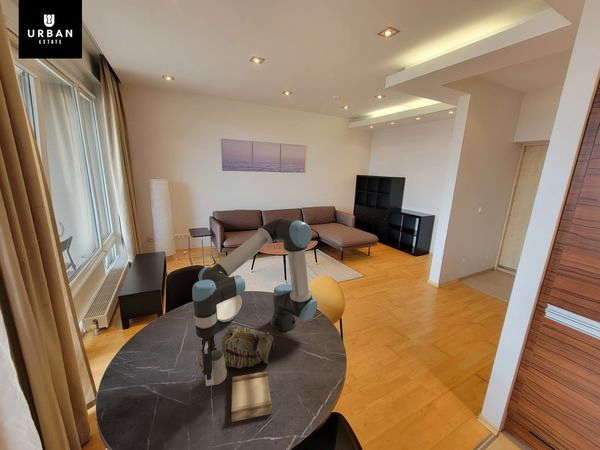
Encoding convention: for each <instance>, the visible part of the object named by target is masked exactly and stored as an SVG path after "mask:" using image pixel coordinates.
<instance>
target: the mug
mask: <svg viewBox="0 0 600 450" xmlns="http://www.w3.org/2000/svg"><path fill="white" fill-rule="evenodd" d="M201 361H203V354H202V348H199V349H198V350H197V357H196V359H195V368H196V369H195V370H196V371H197V372H198V374H199V375H202V374H203V373H202V371H203V370H204V369H203V363H202V362H201ZM212 368H213V376H214V385H213V386H216V385H219V384H222V383H223V382H224V381H225V379H226V378H227V374H228V370H227V366H225V358H224V353H223V351H222V349H221V350H220V349H217V350H213V351H212Z"/></svg>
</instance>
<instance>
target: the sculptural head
mask: <svg viewBox="0 0 600 450" xmlns="http://www.w3.org/2000/svg"><path fill="white" fill-rule="evenodd" d="M227 330H228V331H227V332H225V334H224V335H223V337H222V341H221V343H222V344H221V351H223V353H224V358H225V367H231V368H236V369H242V368H245V367H248V368H249V367H253V366H256V365H259V364H260V363H261V362H262V361H263V363H265V364H270V359H271V354H272V352H273V351H274V350H273V349H274V346H275V340H274V335H273V334H271V332H265V331H259V330H256V329H252V328H249V327H248V328H247V327H242V326H241V325H237V324H235V325H232V326H230V327H228V328H227Z"/></svg>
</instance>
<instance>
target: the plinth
mask: <svg viewBox="0 0 600 450" xmlns="http://www.w3.org/2000/svg"><path fill="white" fill-rule="evenodd" d="M231 379H232V380H231V381H232V383H231V423H234V422H239V421H243V420H247V419H252V418H258V417H261V416H266V415H271V414H272V412H273V409H272V405H273V403H272V400H271V391H270V386H269V385H270V384H269V379H268V371H266V370H265V371H260V372H255V373H249V374H244V375H243V374H242V375H237V376H232V377H231Z"/></svg>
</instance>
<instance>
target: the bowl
mask: <svg viewBox="0 0 600 450" xmlns="http://www.w3.org/2000/svg"><path fill="white" fill-rule="evenodd" d="M242 303H243V299H242V296H241V294H239V295H237V296H236V297H233V298H231V299H228V300H226V301H223V302H222V303H219V304H217V317H218V320H217V321H220V322H221V323H222V322H223V323H225V322H226V323H227V322H230V321H232V320H233V319H234V318H235V317H236V316H237V315H238V313H239V312H240V310H241V307H242Z"/></svg>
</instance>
